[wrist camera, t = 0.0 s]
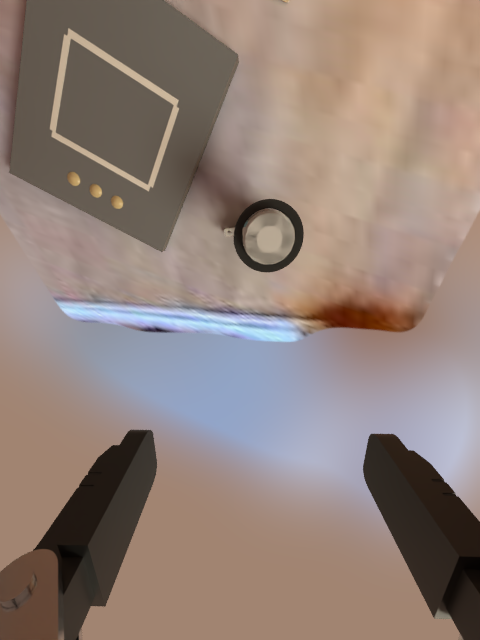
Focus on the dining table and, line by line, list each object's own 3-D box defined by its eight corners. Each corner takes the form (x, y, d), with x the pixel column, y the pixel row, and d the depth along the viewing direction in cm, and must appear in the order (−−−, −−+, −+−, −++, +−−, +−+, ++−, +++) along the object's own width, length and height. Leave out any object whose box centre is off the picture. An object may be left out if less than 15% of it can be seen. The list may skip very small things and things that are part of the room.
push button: (227, 255, 28) (219, 278, 19) (223, 204, 26) (210, 203, 17) (285, 251, 28) (304, 273, 19) (285, 199, 25) (308, 195, 16)
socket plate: (48, -75, 18) (35, -94, 17) (238, 62, 21) (238, 54, 20) (19, 174, 25) (8, 172, 24) (165, 250, 28) (161, 252, 27)
